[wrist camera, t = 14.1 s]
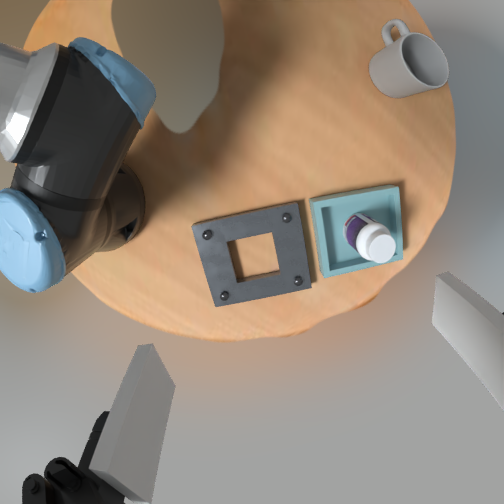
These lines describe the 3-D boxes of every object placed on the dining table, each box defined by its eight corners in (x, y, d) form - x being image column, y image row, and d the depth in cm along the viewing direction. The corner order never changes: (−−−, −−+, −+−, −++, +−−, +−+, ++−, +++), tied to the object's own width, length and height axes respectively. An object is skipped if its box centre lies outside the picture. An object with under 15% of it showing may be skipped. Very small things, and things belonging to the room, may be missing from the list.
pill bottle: (344, 248, 45) (366, 273, 36) (339, 216, 43) (361, 234, 34) (374, 240, 44) (401, 262, 35) (370, 209, 43) (398, 224, 33)
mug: (419, 95, 37) (457, 86, 26) (379, 102, 38) (414, 91, 27) (393, 32, 33) (425, 11, 23) (351, 36, 34) (378, 10, 23)
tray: (320, 270, 47) (324, 278, 44) (308, 198, 43) (312, 202, 40) (395, 253, 46) (402, 259, 43) (390, 184, 42) (398, 186, 39)
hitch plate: (216, 302, 49) (215, 308, 47) (193, 223, 44) (190, 227, 42) (309, 283, 48) (312, 289, 46) (296, 201, 43) (298, 203, 41)
